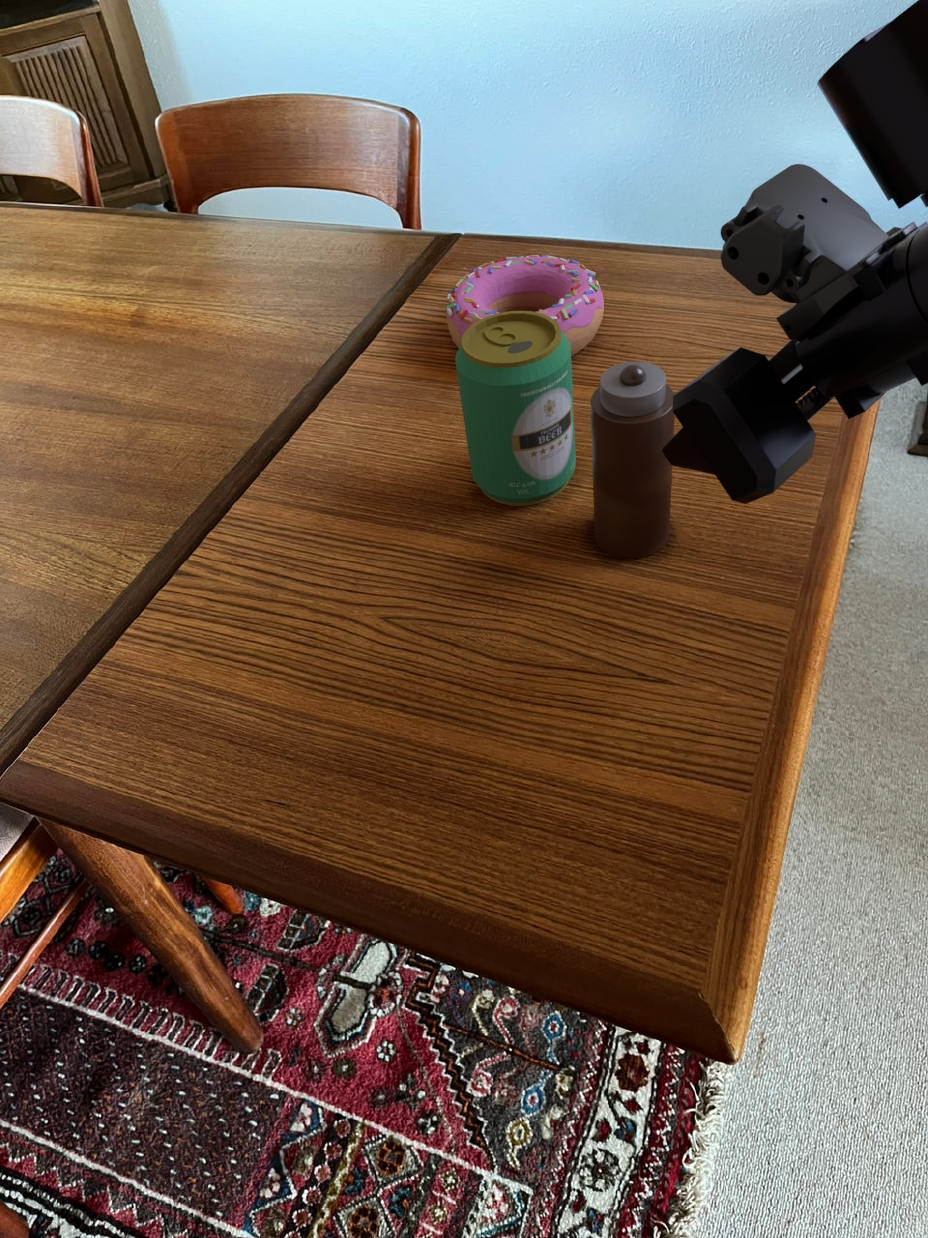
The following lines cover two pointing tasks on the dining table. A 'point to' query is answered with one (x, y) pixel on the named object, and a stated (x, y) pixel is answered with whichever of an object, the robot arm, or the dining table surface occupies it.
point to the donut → (529, 295)
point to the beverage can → (518, 406)
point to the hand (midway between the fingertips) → (715, 416)
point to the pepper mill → (632, 459)
